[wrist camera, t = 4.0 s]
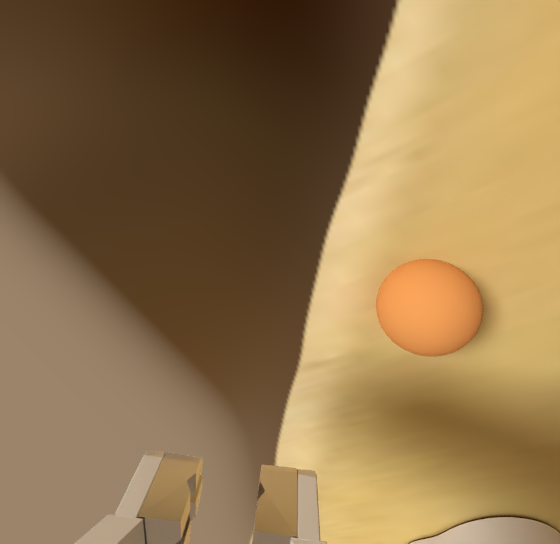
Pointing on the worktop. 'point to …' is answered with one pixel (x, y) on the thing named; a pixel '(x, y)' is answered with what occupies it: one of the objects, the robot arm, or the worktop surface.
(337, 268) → the worktop surface
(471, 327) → the ball
